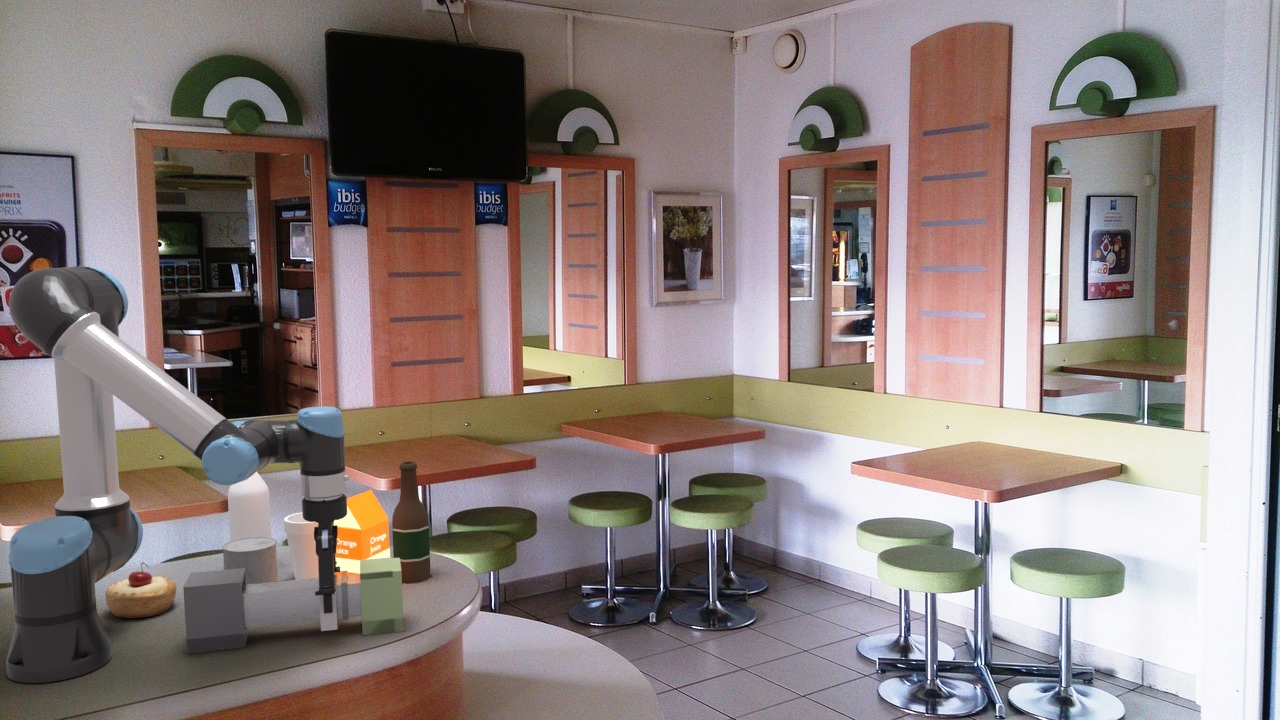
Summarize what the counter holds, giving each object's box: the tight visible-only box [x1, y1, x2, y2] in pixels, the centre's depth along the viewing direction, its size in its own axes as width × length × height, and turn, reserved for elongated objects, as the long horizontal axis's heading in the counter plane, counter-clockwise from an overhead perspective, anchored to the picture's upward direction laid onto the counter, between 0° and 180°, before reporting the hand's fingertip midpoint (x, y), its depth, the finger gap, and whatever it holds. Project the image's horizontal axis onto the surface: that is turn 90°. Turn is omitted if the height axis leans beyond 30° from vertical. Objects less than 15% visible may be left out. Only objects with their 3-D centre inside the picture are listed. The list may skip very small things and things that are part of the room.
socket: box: [360, 556, 405, 636], centre depth 187 cm, size 7×8×11 cm
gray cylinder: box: [221, 537, 279, 584], centre depth 197 cm, size 10×10×12 cm
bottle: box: [227, 471, 273, 542], centre depth 217 cm, size 8×8×30 cm
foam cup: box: [283, 511, 319, 580], centre depth 213 cm, size 10×9×13 cm
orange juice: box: [334, 489, 391, 576], centre depth 203 cm, size 8×9×20 cm
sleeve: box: [182, 568, 250, 655], centre depth 180 cm, size 9×8×12 cm
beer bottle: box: [391, 460, 431, 584], centre depth 213 cm, size 8×8×24 cm
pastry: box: [104, 561, 177, 619], centre depth 196 cm, size 12×12×9 cm
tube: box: [242, 571, 362, 628], centre depth 184 cm, size 25×7×7 cm, turn 105°
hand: (329, 619), depth 185 cm, fingers open, 9 cm apart
